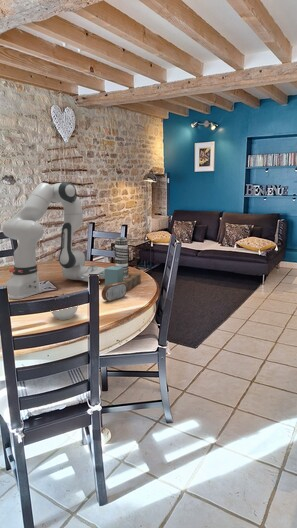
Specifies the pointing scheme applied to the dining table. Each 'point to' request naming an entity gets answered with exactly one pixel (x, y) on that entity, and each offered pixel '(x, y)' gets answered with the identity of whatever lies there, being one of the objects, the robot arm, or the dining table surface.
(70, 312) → the lidded bowl
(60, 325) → the dining table surface
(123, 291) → the oval wooden speaker
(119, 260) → the decorative candle
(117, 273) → the slate block
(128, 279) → the walnut board
